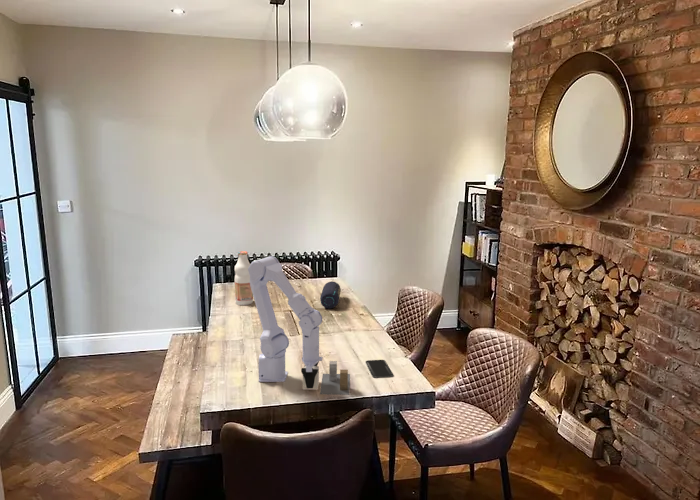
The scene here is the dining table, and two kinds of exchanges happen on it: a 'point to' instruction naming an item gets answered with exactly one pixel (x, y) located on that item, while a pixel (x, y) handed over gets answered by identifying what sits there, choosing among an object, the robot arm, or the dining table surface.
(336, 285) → the portable speaker
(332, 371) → the steel post
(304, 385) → the beige block
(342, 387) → the bronze post
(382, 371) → the phone
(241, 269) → the fruit juice
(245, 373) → the dining table surface
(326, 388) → the base board
